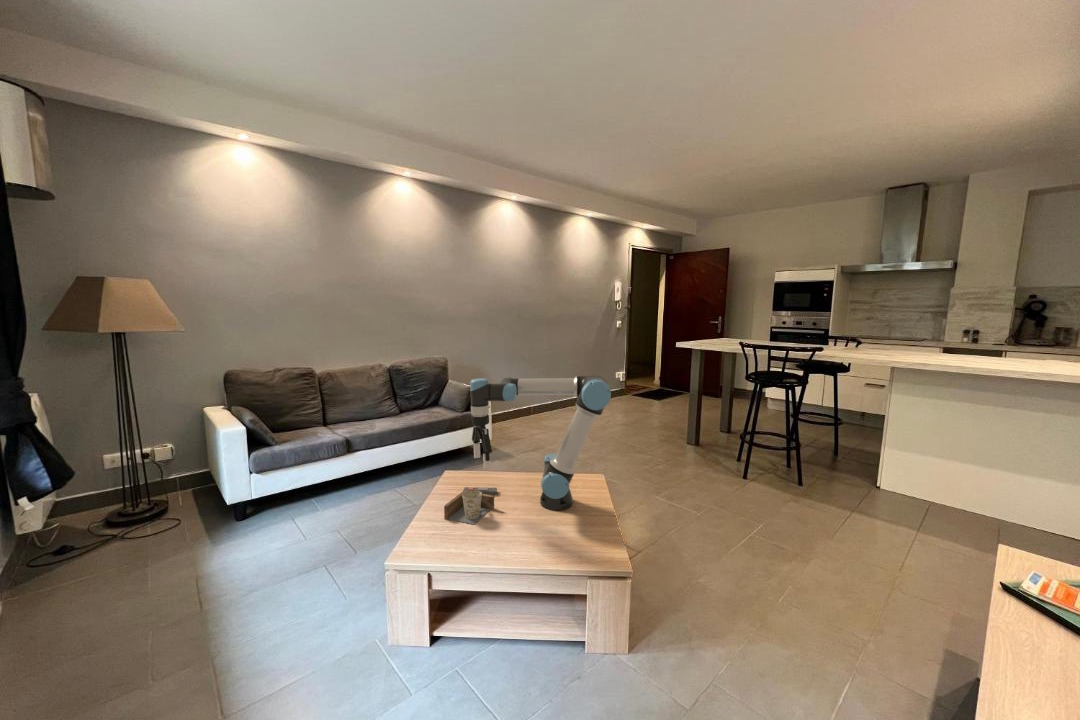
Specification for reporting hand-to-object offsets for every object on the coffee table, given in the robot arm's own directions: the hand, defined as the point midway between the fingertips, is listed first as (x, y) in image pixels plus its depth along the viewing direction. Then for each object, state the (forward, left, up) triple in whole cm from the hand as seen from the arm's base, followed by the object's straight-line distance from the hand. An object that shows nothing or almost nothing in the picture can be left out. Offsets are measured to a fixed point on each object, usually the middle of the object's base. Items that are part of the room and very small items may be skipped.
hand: (482, 462), depth 184 cm
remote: (+11, -18, -23) cm, 31 cm away
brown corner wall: (+5, +2, -23) cm, 24 cm away
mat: (+5, +3, -23) cm, 24 cm away
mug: (+3, +2, -23) cm, 24 cm away
